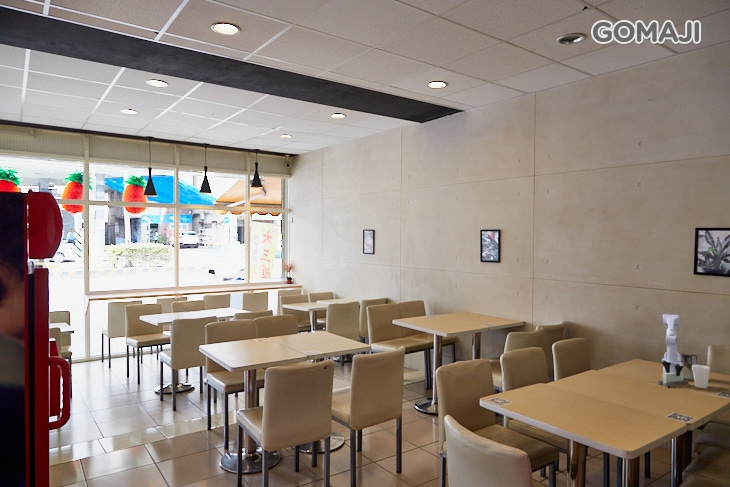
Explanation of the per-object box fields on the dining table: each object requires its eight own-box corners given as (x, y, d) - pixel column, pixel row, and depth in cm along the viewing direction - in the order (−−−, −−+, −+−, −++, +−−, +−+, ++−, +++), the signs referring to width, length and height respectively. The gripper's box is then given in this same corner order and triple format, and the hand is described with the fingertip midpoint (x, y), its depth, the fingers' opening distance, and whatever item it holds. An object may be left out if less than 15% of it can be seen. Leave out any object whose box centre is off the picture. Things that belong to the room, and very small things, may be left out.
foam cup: (710, 389, 295) (709, 369, 296) (692, 387, 301) (691, 367, 301) (710, 385, 303) (709, 365, 303) (693, 383, 309) (692, 364, 309)
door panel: (663, 384, 307) (662, 373, 307) (680, 382, 310) (679, 371, 310) (666, 385, 304) (665, 374, 305) (683, 383, 308) (683, 372, 308)
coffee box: (698, 378, 320) (697, 355, 320) (693, 380, 317) (692, 356, 318) (684, 375, 328) (683, 352, 329) (679, 376, 326) (678, 354, 326)
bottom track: (656, 384, 310) (656, 380, 310) (678, 381, 314) (678, 378, 314) (668, 388, 301) (668, 384, 301) (690, 385, 305) (690, 381, 305)
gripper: (657, 352, 314) (658, 372, 314) (676, 356, 300) (677, 377, 300) (666, 351, 316) (667, 371, 315) (685, 355, 301) (686, 376, 301)
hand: (673, 374), depth 308 cm, fingers open, 7 cm apart
